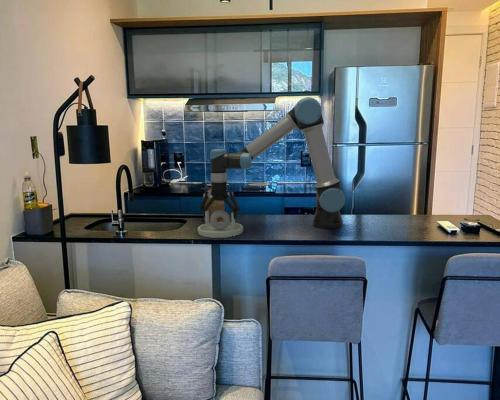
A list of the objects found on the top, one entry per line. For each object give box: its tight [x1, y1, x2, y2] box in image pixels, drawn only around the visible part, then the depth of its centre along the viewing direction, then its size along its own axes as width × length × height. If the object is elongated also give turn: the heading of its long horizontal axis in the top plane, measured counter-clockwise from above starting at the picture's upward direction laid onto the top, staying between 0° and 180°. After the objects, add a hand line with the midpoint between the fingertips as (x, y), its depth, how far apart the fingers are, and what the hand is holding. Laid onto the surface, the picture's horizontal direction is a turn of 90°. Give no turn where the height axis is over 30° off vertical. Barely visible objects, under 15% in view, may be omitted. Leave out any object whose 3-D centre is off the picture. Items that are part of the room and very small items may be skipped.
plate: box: [197, 221, 244, 239], centre depth 208 cm, size 22×22×2 cm
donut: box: [210, 210, 231, 230], centre depth 207 cm, size 10×4×10 cm, turn 90°
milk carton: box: [202, 188, 225, 224], centre depth 231 cm, size 11×11×19 cm
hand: (220, 224), depth 207 cm, fingers open, 13 cm apart
